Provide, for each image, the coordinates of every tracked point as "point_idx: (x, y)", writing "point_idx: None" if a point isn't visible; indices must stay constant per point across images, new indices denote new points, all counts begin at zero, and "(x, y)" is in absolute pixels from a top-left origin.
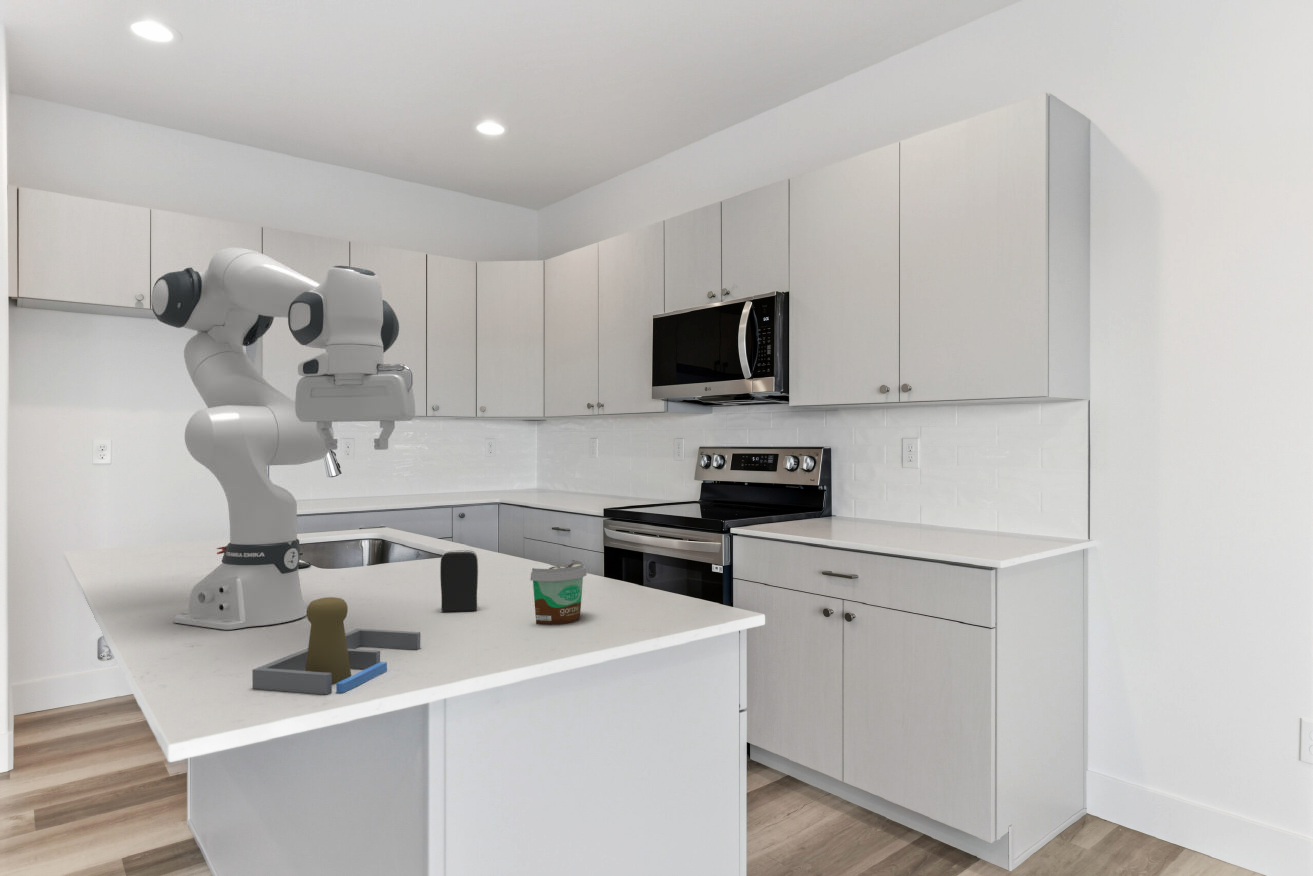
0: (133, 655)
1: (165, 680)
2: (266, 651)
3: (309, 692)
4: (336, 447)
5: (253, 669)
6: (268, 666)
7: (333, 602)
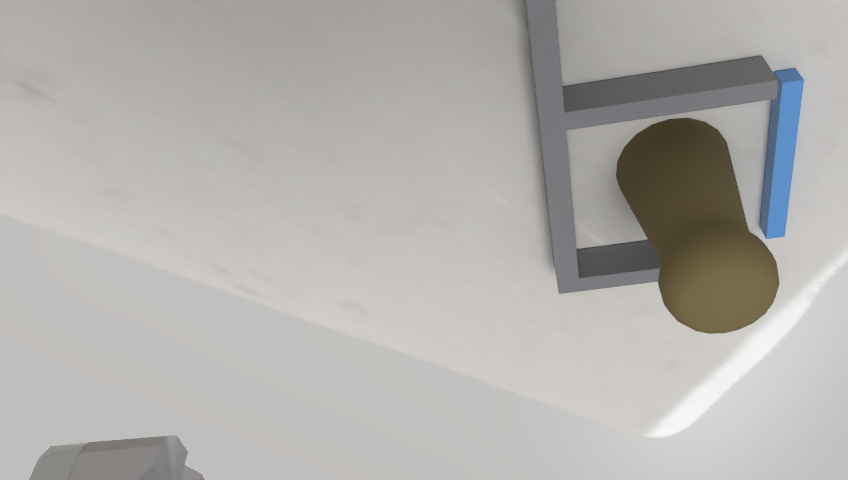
0: (14, 203)
1: (318, 287)
2: (295, 50)
3: None
4: (169, 457)
5: (560, 292)
6: (574, 269)
7: (763, 313)
